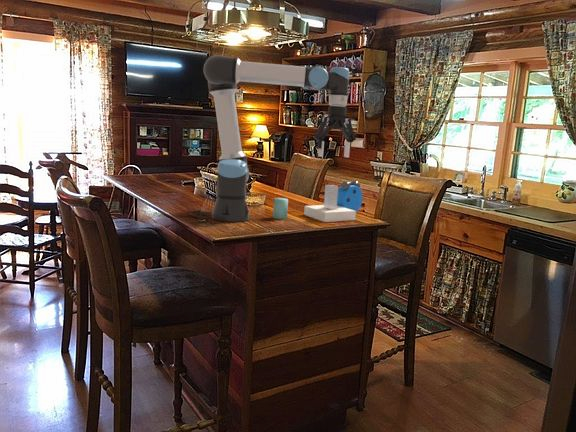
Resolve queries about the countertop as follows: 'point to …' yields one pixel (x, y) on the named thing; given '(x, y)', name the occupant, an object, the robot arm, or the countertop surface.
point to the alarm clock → (350, 195)
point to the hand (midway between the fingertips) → (333, 157)
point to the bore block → (329, 213)
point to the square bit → (330, 197)
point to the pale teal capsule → (280, 208)
